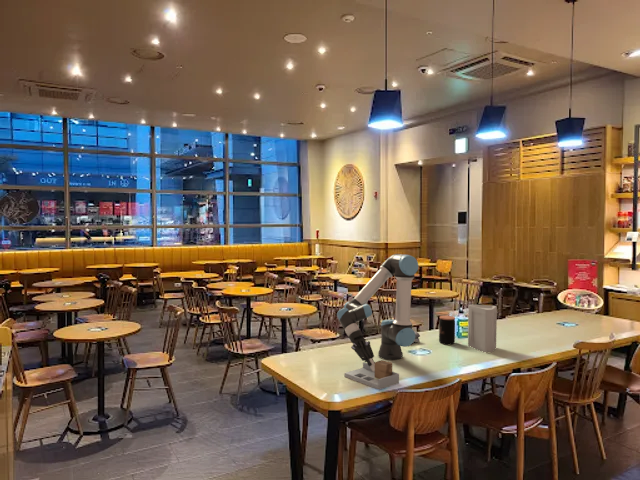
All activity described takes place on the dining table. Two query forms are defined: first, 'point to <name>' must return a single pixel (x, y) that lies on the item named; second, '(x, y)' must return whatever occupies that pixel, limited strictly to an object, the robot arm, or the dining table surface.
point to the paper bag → (482, 327)
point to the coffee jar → (447, 329)
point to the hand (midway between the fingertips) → (375, 370)
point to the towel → (416, 337)
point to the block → (383, 369)
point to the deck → (372, 377)
